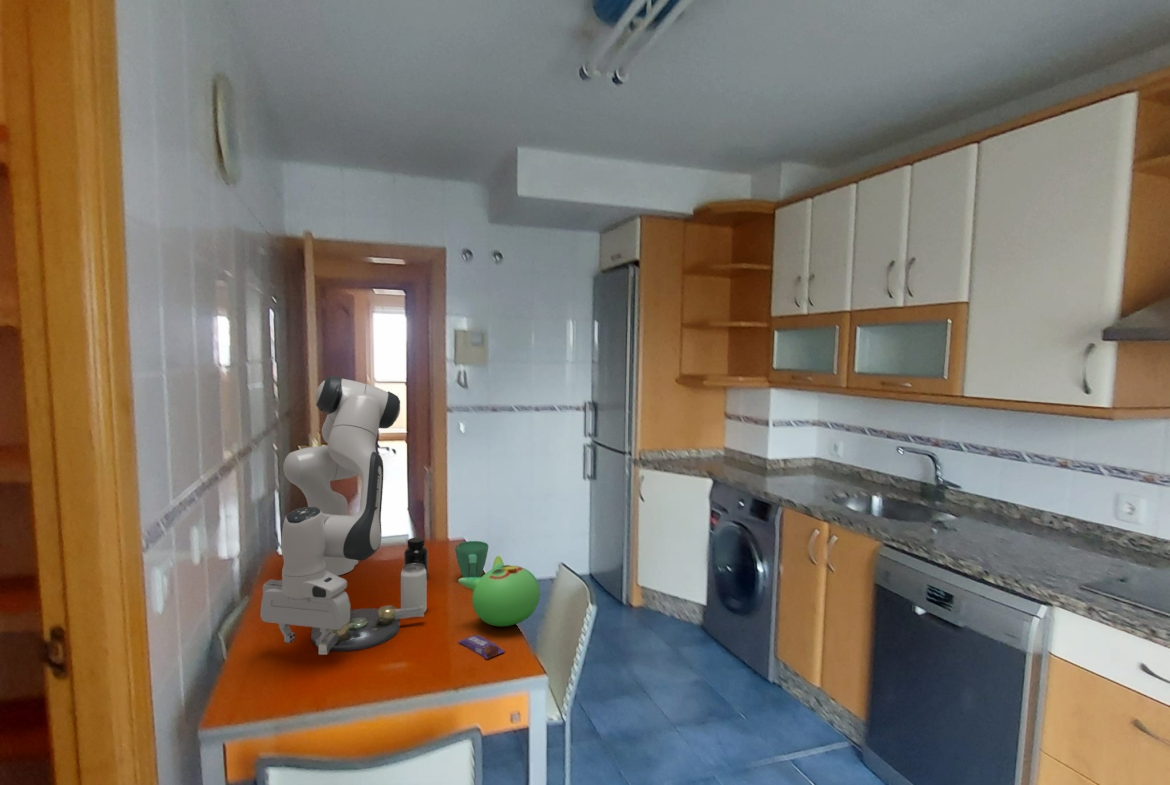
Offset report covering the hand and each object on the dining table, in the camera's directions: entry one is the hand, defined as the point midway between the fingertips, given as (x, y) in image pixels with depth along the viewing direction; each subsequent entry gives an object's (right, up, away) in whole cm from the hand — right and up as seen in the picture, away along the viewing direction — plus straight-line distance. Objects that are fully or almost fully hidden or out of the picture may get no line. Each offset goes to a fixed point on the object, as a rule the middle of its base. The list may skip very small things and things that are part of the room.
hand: (305, 643), depth 137 cm
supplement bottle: (+12, 0, +48) cm, 49 cm away
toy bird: (+42, -2, +19) cm, 46 cm away
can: (+17, -2, +24) cm, 30 cm away
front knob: (+5, -1, +2) cm, 6 cm away
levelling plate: (+7, -2, +12) cm, 14 cm away
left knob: (+17, 0, +15) cm, 23 cm away
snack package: (+38, -4, +5) cm, 39 cm away
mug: (+29, -1, +46) cm, 54 cm away
